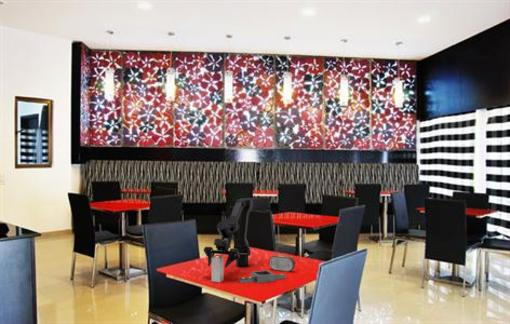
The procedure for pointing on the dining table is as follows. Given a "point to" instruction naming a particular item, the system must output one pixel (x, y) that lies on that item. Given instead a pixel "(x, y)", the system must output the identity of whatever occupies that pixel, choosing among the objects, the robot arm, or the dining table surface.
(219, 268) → the grey upright column
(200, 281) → the dining table surface
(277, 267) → the tin
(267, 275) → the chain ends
